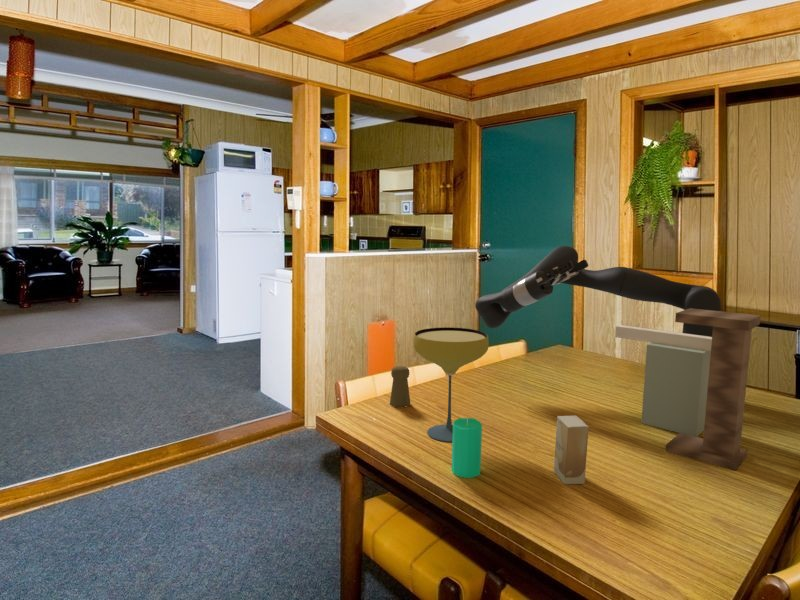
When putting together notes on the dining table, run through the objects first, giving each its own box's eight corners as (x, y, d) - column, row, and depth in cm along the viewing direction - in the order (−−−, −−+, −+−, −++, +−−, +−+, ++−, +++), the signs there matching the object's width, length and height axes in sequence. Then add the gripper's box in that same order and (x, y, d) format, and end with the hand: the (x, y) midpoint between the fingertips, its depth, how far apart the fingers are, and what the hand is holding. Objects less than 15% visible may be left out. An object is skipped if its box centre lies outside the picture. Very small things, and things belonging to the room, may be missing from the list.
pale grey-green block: (641, 423, 140) (646, 344, 137) (655, 413, 147) (660, 338, 145) (696, 437, 131) (703, 353, 128) (707, 426, 138) (714, 346, 136)
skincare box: (553, 471, 113) (555, 415, 111) (573, 470, 113) (576, 414, 111) (564, 485, 106) (567, 426, 105) (586, 484, 107) (589, 426, 105)
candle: (460, 462, 117) (461, 409, 115) (485, 469, 113) (487, 415, 112) (446, 472, 112) (447, 417, 110) (472, 480, 108) (474, 423, 107)
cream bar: (615, 337, 147) (615, 326, 146) (619, 335, 149) (620, 324, 148) (722, 353, 129) (724, 340, 128) (726, 351, 131) (727, 339, 130)
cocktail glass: (491, 449, 124) (494, 342, 120) (412, 448, 124) (413, 341, 121) (481, 420, 142) (483, 327, 138) (412, 419, 142) (413, 326, 139)
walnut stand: (665, 450, 123) (675, 313, 119) (679, 438, 130) (690, 308, 126) (735, 470, 114) (749, 321, 109) (746, 456, 121) (760, 315, 116)
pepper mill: (408, 408, 151) (408, 370, 149) (387, 406, 152) (387, 368, 151) (412, 401, 157) (412, 364, 155) (392, 400, 158) (392, 363, 157)
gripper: (513, 278, 152) (561, 251, 141) (539, 275, 162) (585, 250, 151) (524, 302, 150) (573, 277, 139) (550, 298, 160) (597, 274, 149)
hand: (579, 263), depth 145 cm, fingers open, 8 cm apart
